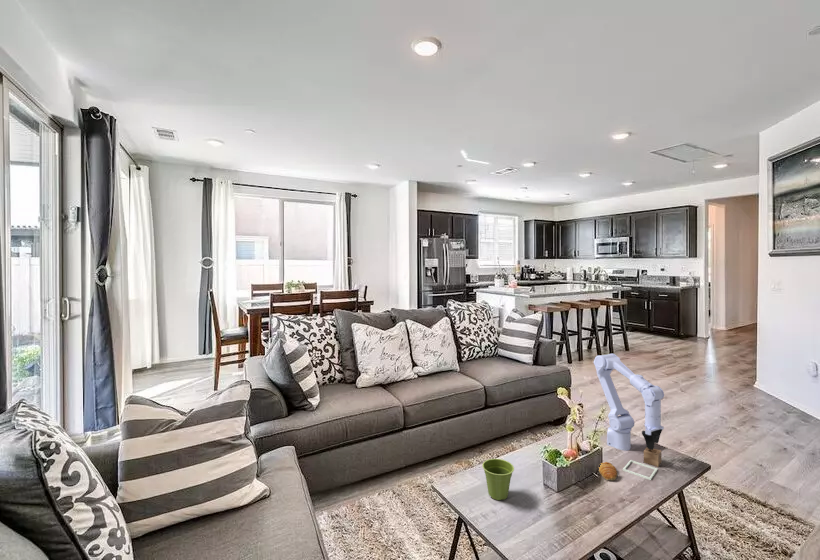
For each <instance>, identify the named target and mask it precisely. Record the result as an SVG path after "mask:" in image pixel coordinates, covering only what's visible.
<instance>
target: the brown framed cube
mask: <svg viewBox="0 0 820 560" xmlns="http://www.w3.org/2000/svg"><path fill="white" fill-rule="evenodd" d="M662 456H663V455H662V450H660V449H658V448H654V449H653V450H651V449H648V448H647V447H645V449H644V450H643V461H644V463H643V464H646V463H647V464H646V465H649V464H650V465H649V466H652V465H653V466H652V467H655V466H657V467H656V468H658V466H659V465H660V464H661V462H662ZM661 465H662V464H661ZM661 465H660V466H661Z"/></svg>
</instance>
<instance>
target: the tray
mask: <svg viewBox="0 0 820 560" xmlns="http://www.w3.org/2000/svg"><path fill="white" fill-rule="evenodd" d="M631 463H632V464H635V465H638V466H641V467H644V468H648V469H651V470H653V471H652V473H651V474H650V476H646V475H643V474H640V473H638V472H634V471H632V470H629V469H627V468H628V467H629V466H630V465H631ZM622 471H623V472H626V473H629V474H631V475H635V476H637V477H640V478H644V479H645V480H649V481H651V480H652V479H653V477H654V476H655V475H656V473H657V471H658V467H655V466H652V465H649V464H646V463H643V462H638V461H635V460H633V459H630V460H629V461H628V462H627V464H625V466H624V467H623V468H622Z"/></svg>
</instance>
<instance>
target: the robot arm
mask: <svg viewBox="0 0 820 560" xmlns="http://www.w3.org/2000/svg"><path fill="white" fill-rule="evenodd" d="M593 365H594V368H595V370H596V376H597V378H598V380H599V384H600V386H601V389H602V391H603V394H604V396H605V399H606V401H607V404H608V406H609V407H608V408H609V410H610V411H609V413H608V415H607V417H608V420H609V421H608V423H609V426H608V428H607V432H606V445H607V446H609V447H611V448H614V449H616V450H620V451H629V450H631V449H632V448H631V447H632V446H631V442H632V441H631V435H632V434H631V432H632V428H634V427H635V420H634V418H633V417H632V415H631V413H630V412H629V411H628V409H626V408H624V407H623V405H622V402H621V400H620V397H619V394H618V392H617V389H616V386H615V384H614V381H613V379H612V376H611V373H612V372H613V370H616V372H618V373H620V374H621V375H622V376H624V377H625V378H627V379H628V380H629V384H630V385H631V386H632V387H633V388H635V389H636V390H637V391H638V392H639V393H641V396H642V397H641V398H643V403H644V428H645V430H642V431H641V435H642V436H643V439H644V441H645V445H646V448H648V449H651V450H653V449H655V444H659V442H660V438H661V434H662V432H663V430H664V429H665V427H664V426H662V424H661V423H662V422H661V421H662V419H661V418H662V417H661V415H662V414H661V412H662V407H661V406H662V404H661V403H662V402H661V400H663V399H664V397H665V392H664V390H663V389H662V388H661V387H660V385H654V384H653V383H651V382H649V381H648V380H647V379H645V377H644V376H643V375H642V374H638V373H637V374H635V373H634V372H633V371H632V370H631V369H630V368H629V367H628V366H626V365H625V363H624V362H622V361H621V357H619V356H618V355H616V354H615V353H609V354H601V355H599V354H598V355H596V356H595V358H594V360H593Z"/></svg>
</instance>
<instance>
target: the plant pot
mask: <svg viewBox="0 0 820 560" xmlns="http://www.w3.org/2000/svg"><path fill="white" fill-rule="evenodd" d="M481 465H482V466H481V467H482V469H483V470H484V476H485V480H486V485H487V486H486V487H487V492H488V495H489V497H490V496H491V497H492V498H491V497H490V498H491V499H493V500H497V501H501V500H506V499H508V496H509V490H510V484H511V478H512V476H513V473H514V471H515V467H514V465H513V464H512V463H511V462H509V461H507V460H505V459H502V458H490V459H485V460H484V461H483V463H482V464H481Z"/></svg>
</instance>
